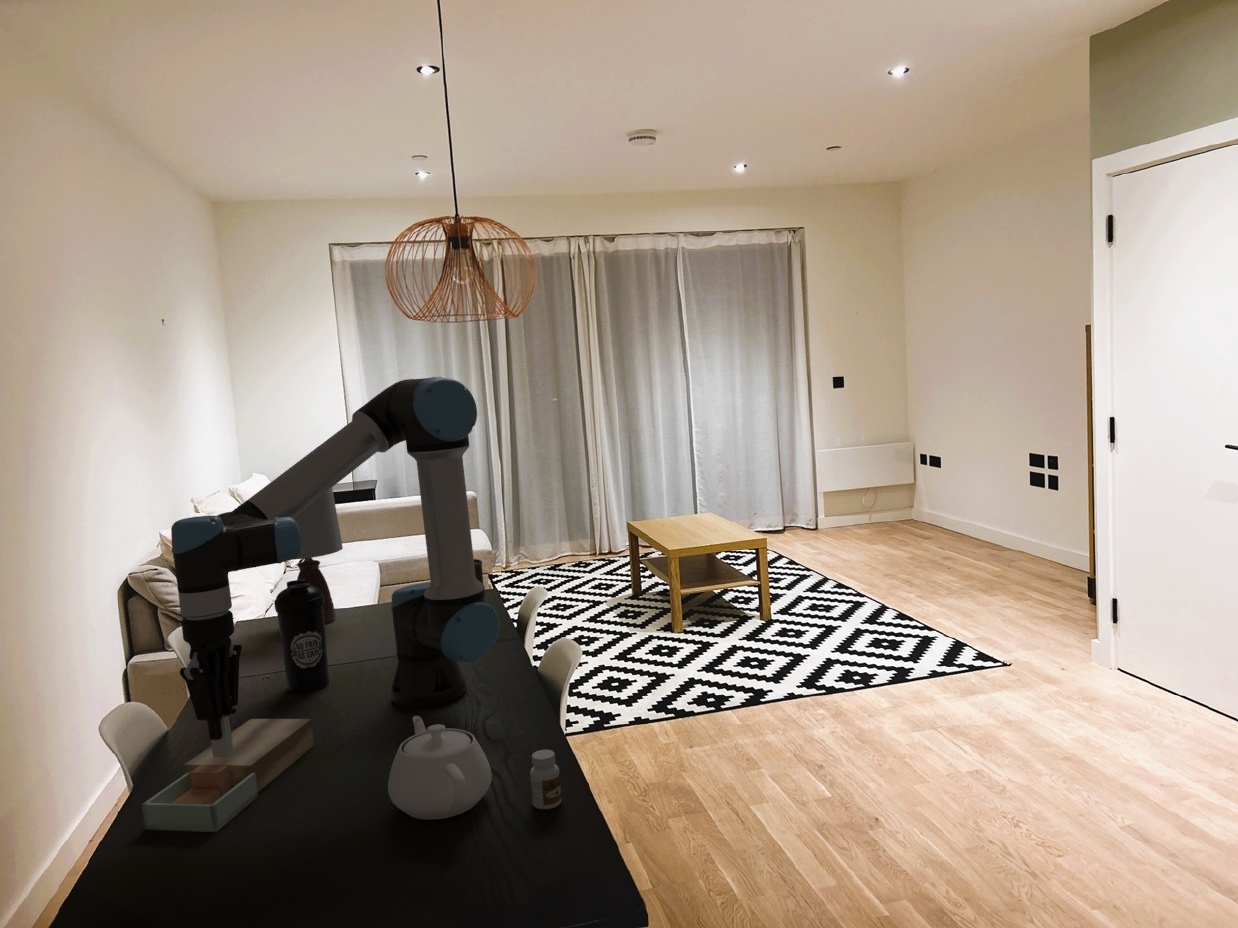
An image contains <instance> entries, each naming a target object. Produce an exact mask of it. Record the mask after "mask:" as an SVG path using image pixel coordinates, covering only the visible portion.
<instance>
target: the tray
mask: <svg viewBox="0 0 1238 928" xmlns="http://www.w3.org/2000/svg"><path fill="white" fill-rule="evenodd" d="M191 788H193V787H192V779H191V772H188V773H186V774H183V775H182V776H181V777H178V779H176V780H174V781H173V782H172V783H171V784H168V785H167V786H166V787H165V788H163V789H162V790H160V791H159V792H158V793H156V794H155V795H153V796H152V797H150V798H148V800H146V801H145V802H143V803H142V804H141V810H142V817H143V825H144V830H145V831H146V830H147V831H167V832H168V831H173V832H174V831H175V832H203V833H204V832H207V833H217V832H218V831H219V830H221V829H222V828H223V827H224V826H225V825H226V824H228V823H229V822H230V821H231V820H233V819H234V818H235V817H236V816H237V815H238V814H239V813H241V812H242V811H243V810H245V808H246V807H249V805H250V804H251V803H253V802H254V801H255V800H256V799H257V798H259V792H258V791H257V782H256V774H255V773H251V774H250V775H249V776H247V777H246V778H245V779H244V780H242V781H241V782H240V783H239V784H237V785H236V786H235V787H233V788H232V789H231V790H230V791H228V792H227V793H226V794H225V795H223V796H222V797H221V798H219V799H218V800H217V801H216V802H214V803H213V804H177V803H172V802H174V801H175V800H176V799H178V798H179V797H180V796H182V795H183V794H185V793H186V792H187V791H189V790H190V789H191Z"/></svg>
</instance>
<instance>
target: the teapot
mask: <svg viewBox="0 0 1238 928" xmlns="http://www.w3.org/2000/svg"><path fill="white" fill-rule="evenodd" d="M412 724H413V726H414V735H411V736H410V737H407V739H405V740H404V741H403V742H401V743H400V745H399V746H398V748H397V751H396V754H395V756H394V759H393V762H392V765H391V769H390V773H389V776H388V782H387V783H388V784H387V791H388V795H389V798H390V801H391V802H392V803H393V805H395V807H396V808H398V809H399V810H400V811H402V812H404V813H405V814H407V815H408V816H410V817H412V818H415V819H419V820H420V819H421V820H429V821H431V820H441V819H442V820H443V819H447V818H453V817H455V816H458V815H461V814H463V813H465V812H467V811H469V810H471V809H473V807H475V806H476V805H477V804H478V802H479V801H480V800H482V798H484V796H485V795H486V794H487V792H488V791H489V789H490V785H491V784H492V770H491V769H492V768H491V767H490V766H491V765H490V762H489V760H488V757H487V756H486V754H485V752H484V750H483V748H482V747H481V745H480V744H479V742H478V740H477V738H476V737H475V735H474V734H473V733H471V732H470V731H467V730H464V729H462V728H461V729H460V728H446V726H445V724H432V725H430V726H428V727H426V726H425V724H424V721H423V718H421V716H419V715H414V716H413V717H412Z"/></svg>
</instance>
